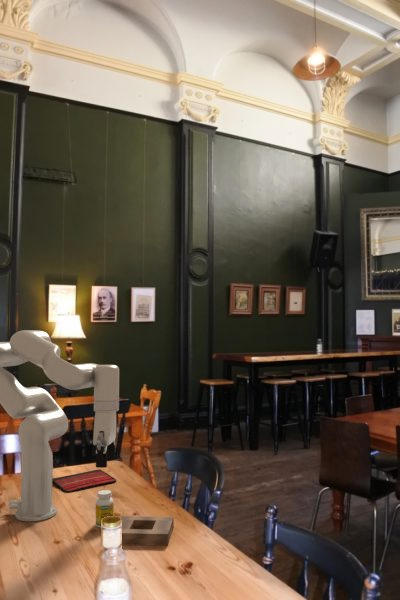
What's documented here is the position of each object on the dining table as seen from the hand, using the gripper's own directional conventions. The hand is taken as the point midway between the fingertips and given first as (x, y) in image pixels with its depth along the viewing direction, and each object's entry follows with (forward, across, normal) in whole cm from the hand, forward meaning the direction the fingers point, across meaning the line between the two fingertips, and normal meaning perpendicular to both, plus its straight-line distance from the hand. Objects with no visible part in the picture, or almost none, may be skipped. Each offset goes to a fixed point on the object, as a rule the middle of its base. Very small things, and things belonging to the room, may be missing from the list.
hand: (105, 462), depth 145 cm
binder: (+19, -40, -19) cm, 48 cm away
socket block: (+18, +7, +13) cm, 23 cm away
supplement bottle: (+18, 0, 0) cm, 18 cm away
